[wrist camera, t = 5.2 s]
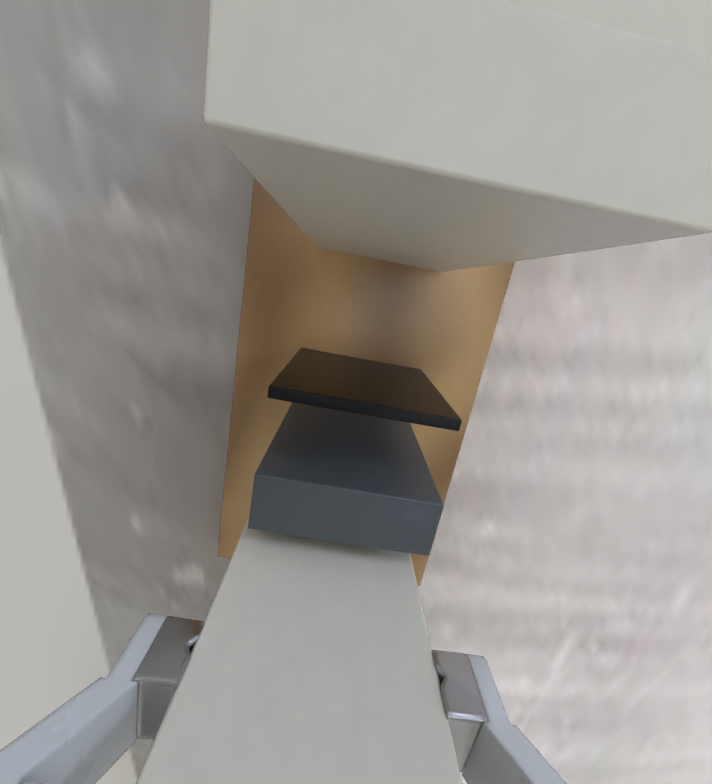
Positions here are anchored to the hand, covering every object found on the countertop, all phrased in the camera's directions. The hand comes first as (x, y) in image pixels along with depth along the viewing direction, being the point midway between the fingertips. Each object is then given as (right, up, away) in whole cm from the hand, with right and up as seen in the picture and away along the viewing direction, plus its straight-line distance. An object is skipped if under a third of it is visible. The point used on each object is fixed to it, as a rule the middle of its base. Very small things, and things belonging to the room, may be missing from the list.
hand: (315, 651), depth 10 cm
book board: (+1, +8, +9) cm, 12 cm away
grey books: (0, +2, +10) cm, 10 cm away
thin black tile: (+1, +8, +8) cm, 12 cm away
